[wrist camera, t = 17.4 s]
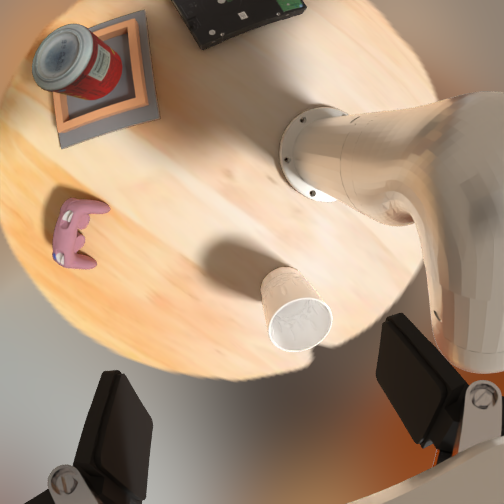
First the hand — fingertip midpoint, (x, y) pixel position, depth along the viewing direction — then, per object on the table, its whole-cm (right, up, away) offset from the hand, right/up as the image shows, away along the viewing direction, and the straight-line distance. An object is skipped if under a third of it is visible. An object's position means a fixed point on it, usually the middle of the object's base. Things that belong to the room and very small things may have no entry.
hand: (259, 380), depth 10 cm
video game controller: (-23, +7, +27) cm, 36 cm away
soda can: (-19, +26, +19) cm, 38 cm away
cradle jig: (-20, +27, +20) cm, 39 cm away
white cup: (+4, -1, +34) cm, 34 cm away
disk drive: (-2, +37, +19) cm, 42 cm away
